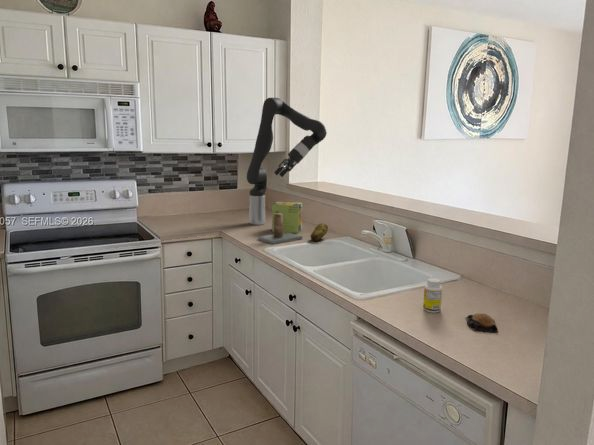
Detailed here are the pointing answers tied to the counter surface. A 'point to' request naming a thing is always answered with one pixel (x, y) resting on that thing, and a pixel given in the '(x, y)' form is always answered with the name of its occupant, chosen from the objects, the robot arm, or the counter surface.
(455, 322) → the counter surface
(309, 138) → the robot arm
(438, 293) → the supplement bottle
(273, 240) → the slate board
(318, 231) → the potato
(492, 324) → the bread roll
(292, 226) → the protein box
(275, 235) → the walnut roller
